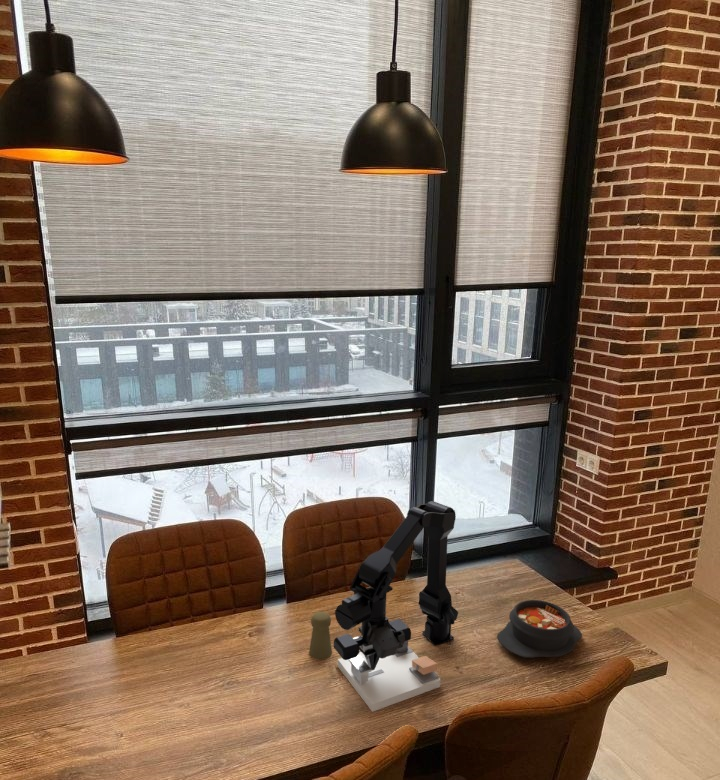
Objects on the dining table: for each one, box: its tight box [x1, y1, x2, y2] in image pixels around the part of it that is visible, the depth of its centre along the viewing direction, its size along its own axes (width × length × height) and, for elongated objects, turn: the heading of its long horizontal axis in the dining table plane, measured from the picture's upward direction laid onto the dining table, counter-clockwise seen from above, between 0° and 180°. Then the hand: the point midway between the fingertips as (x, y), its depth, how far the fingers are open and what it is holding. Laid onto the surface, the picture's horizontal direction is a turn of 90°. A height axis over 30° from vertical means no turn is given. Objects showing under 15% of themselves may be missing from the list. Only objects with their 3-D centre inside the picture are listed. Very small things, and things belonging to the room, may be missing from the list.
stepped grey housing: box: [349, 655, 372, 684], centre depth 149 cm, size 3×6×4 cm, turn 28°
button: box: [397, 640, 409, 653], centre depth 161 cm, size 4×4×3 cm
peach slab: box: [412, 655, 438, 675], centre depth 151 cm, size 4×5×2 cm
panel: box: [337, 646, 442, 713], centre depth 153 cm, size 19×18×3 cm
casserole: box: [496, 599, 583, 659], centre depth 169 cm, size 25×19×8 cm
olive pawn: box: [308, 611, 333, 661], centre depth 161 cm, size 6×6×11 cm
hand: (371, 669), depth 151 cm, fingers closed
